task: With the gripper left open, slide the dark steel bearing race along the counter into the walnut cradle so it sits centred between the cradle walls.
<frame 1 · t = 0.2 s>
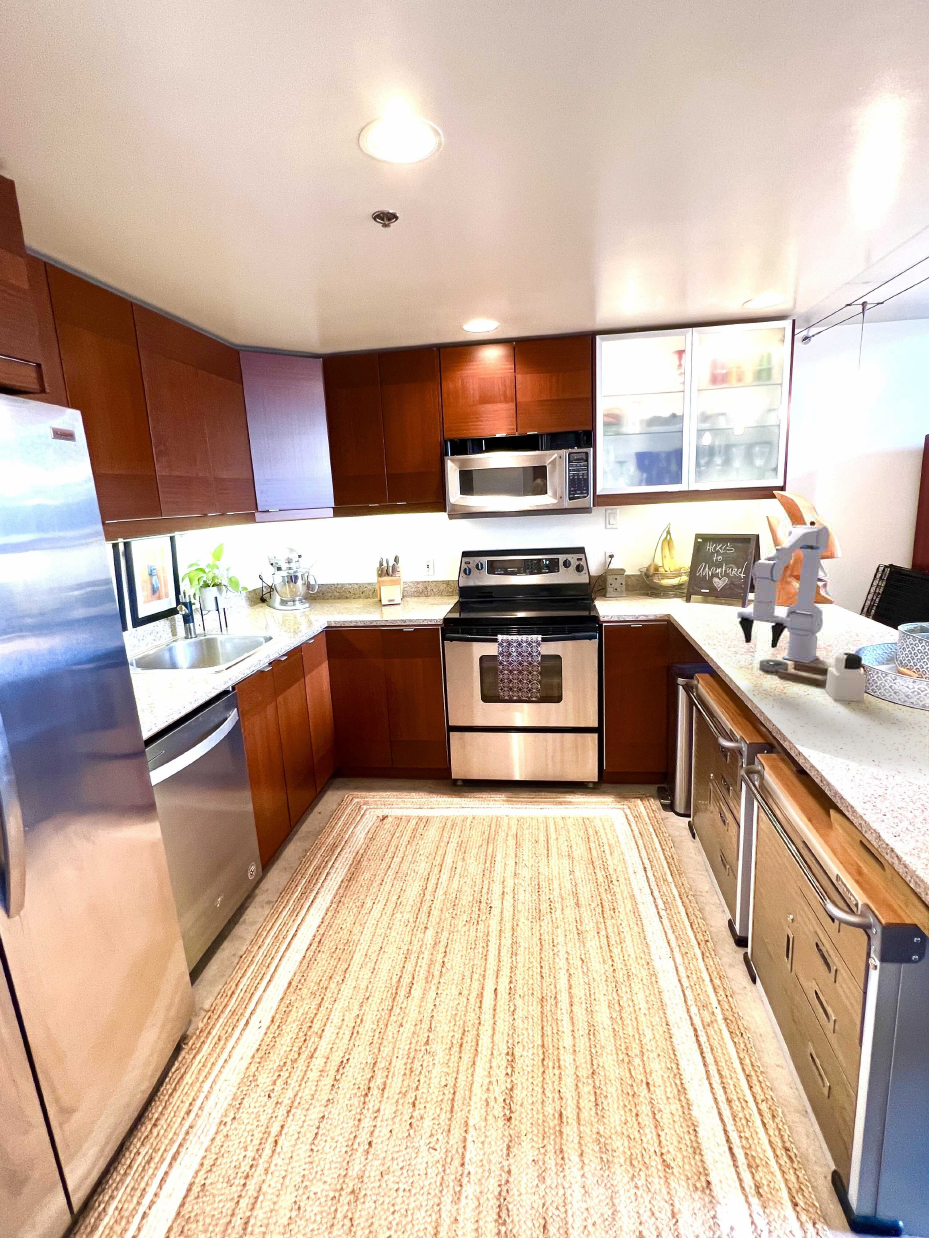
hand: (760, 644, 175), 10 cm above the countertop, tool pointing down, fingers open, 7 cm apart
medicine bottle: (843, 697, 159), on the countertop
bearing race: (773, 670, 182), on the countertop
cradle: (807, 676, 175), on the countertop
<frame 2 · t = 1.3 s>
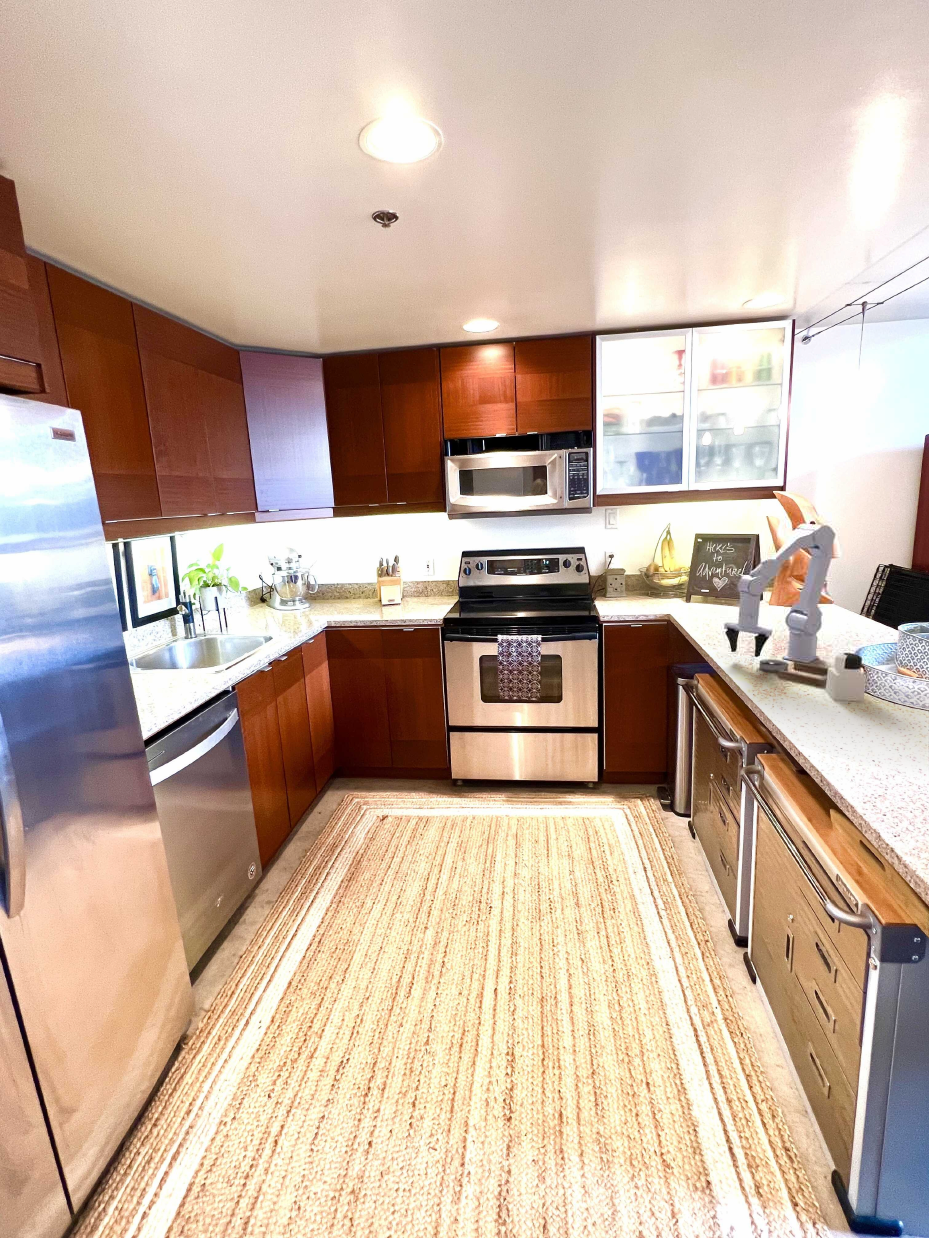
hand: (745, 653, 188), 3 cm above the countertop, tool pointing down, fingers open, 7 cm apart
nothing on the countertop moved.
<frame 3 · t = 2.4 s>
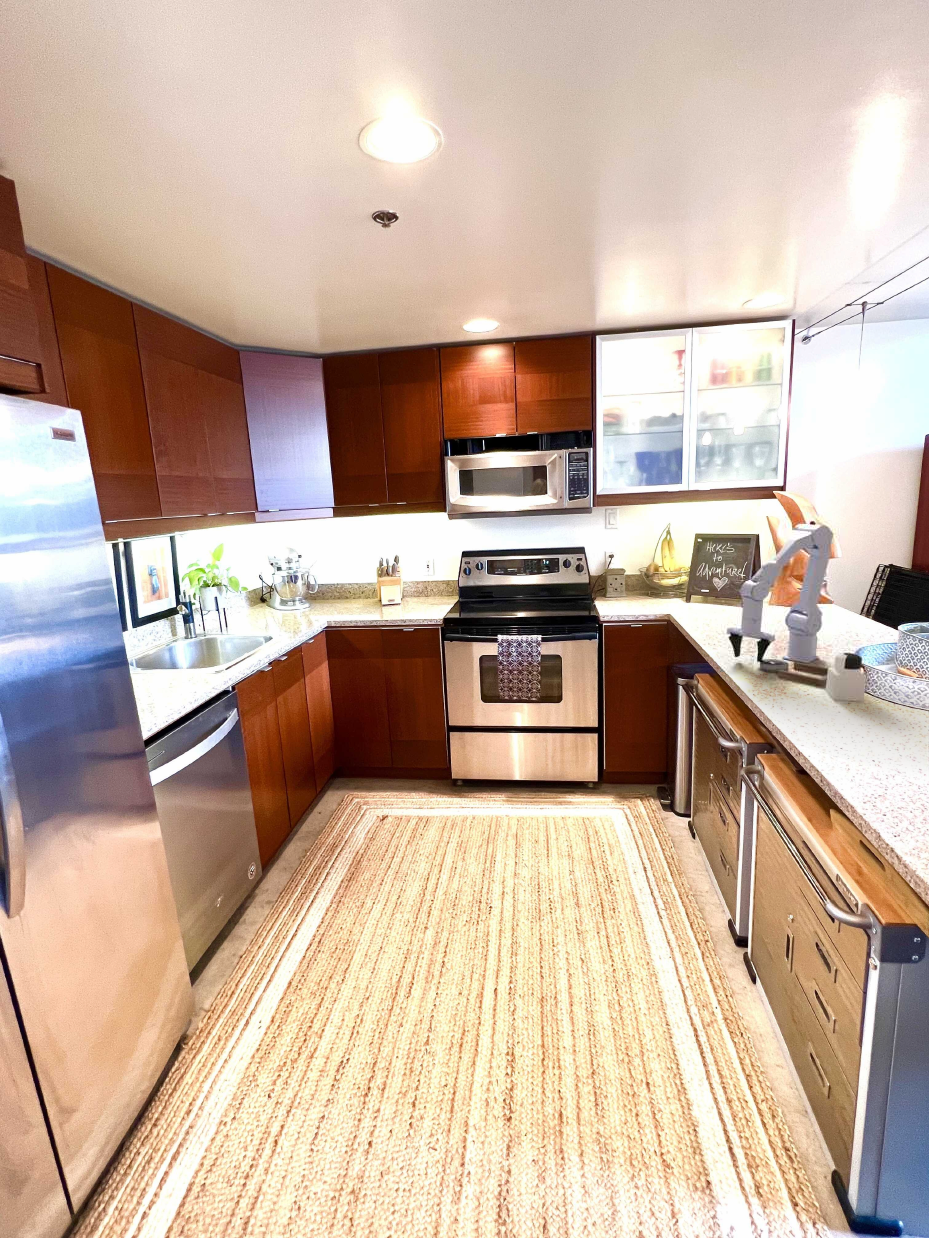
hand: (748, 658, 188), 2 cm above the countertop, tool pointing down, fingers open, 7 cm apart
bearing race: (773, 670, 182), on the countertop, touching gripper
everything else where it was.
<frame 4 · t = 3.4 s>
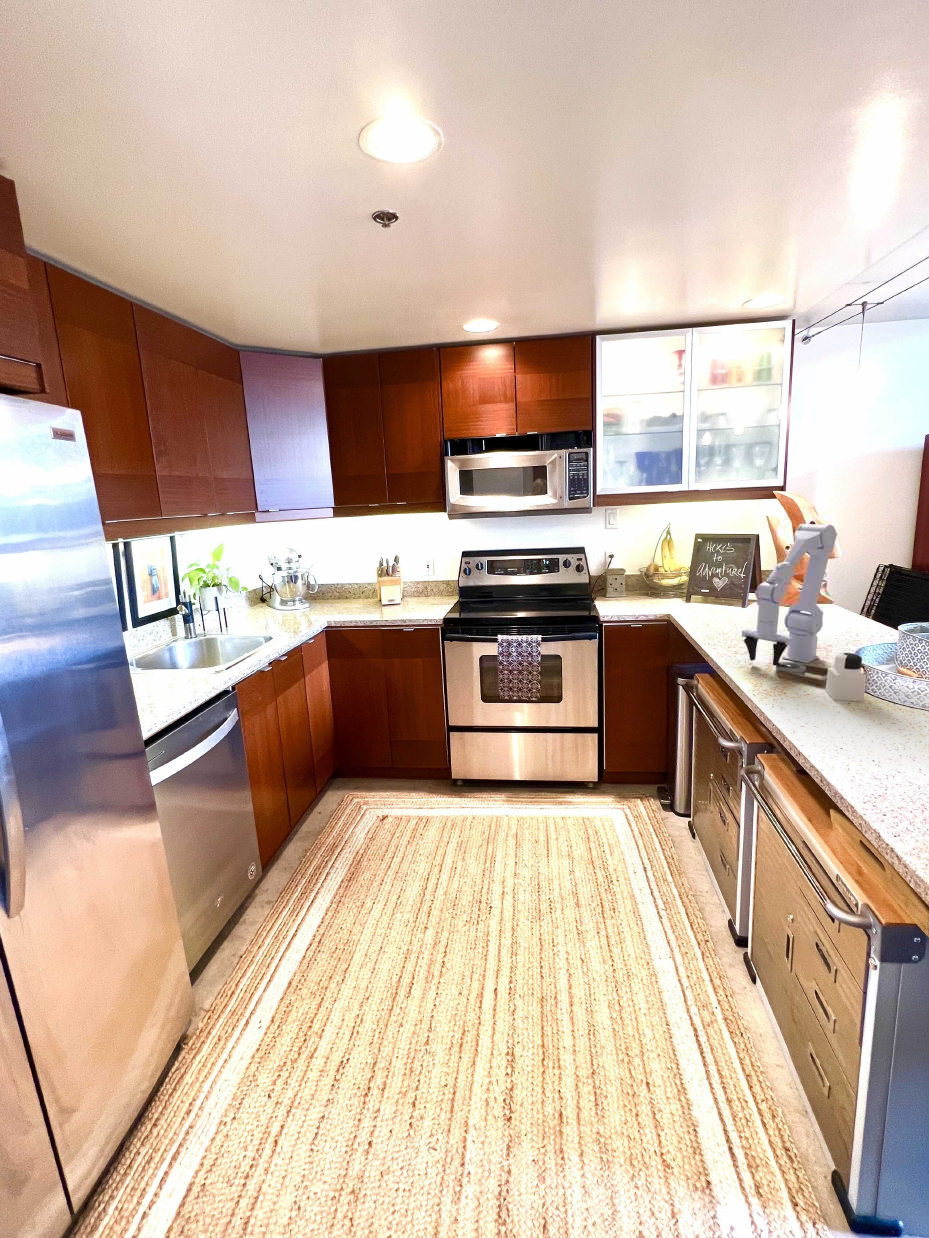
hand: (763, 662, 184), 2 cm above the countertop, tool pointing down, fingers open, 7 cm apart
bearing race: (790, 673, 178), on the countertop, touching gripper
everything else where it was.
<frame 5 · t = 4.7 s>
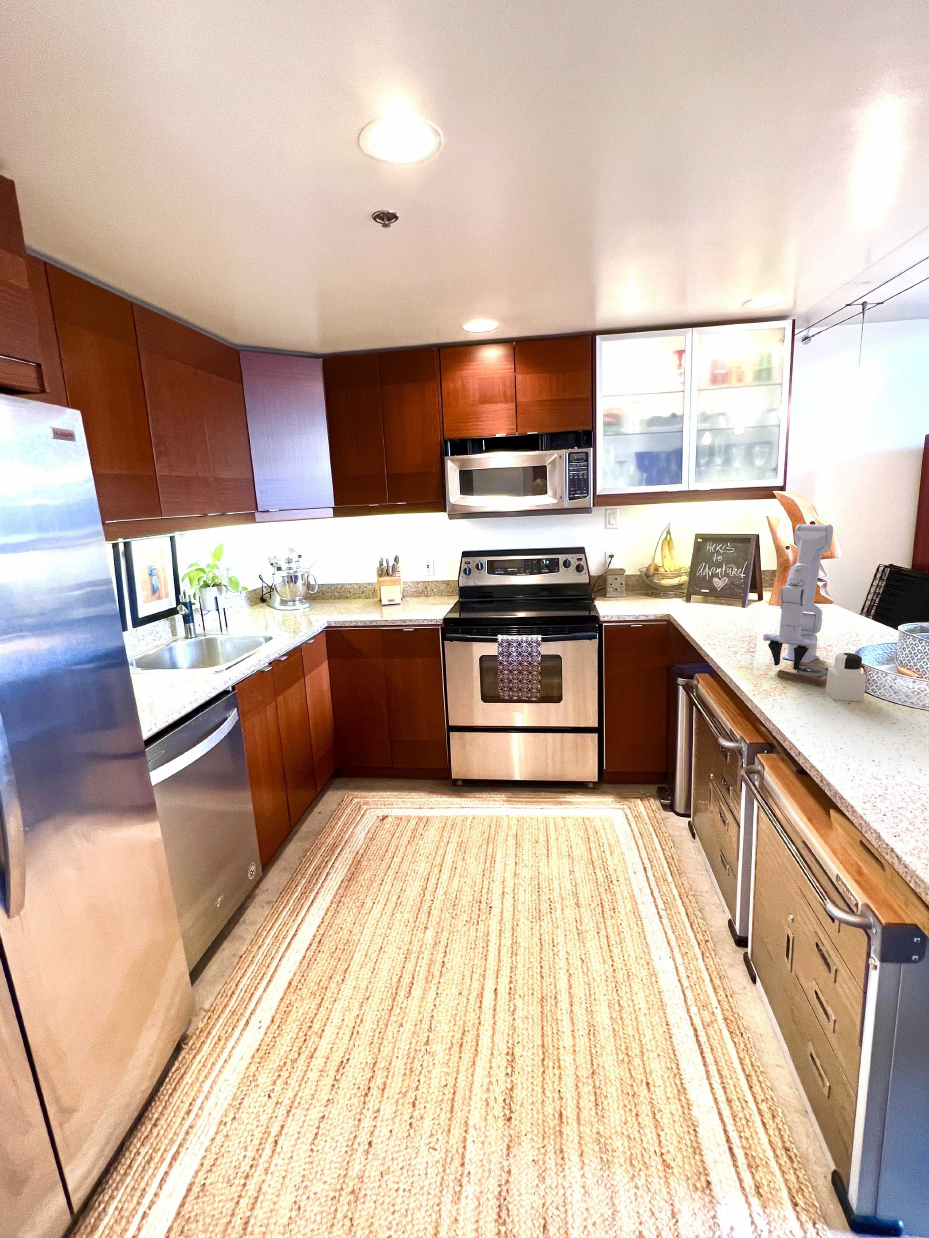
hand: (786, 666, 179), 2 cm above the countertop, tool pointing down, fingers open, 5 cm apart
bearing race: (811, 677, 174), on the countertop, touching cradle, gripper
everything else where it was.
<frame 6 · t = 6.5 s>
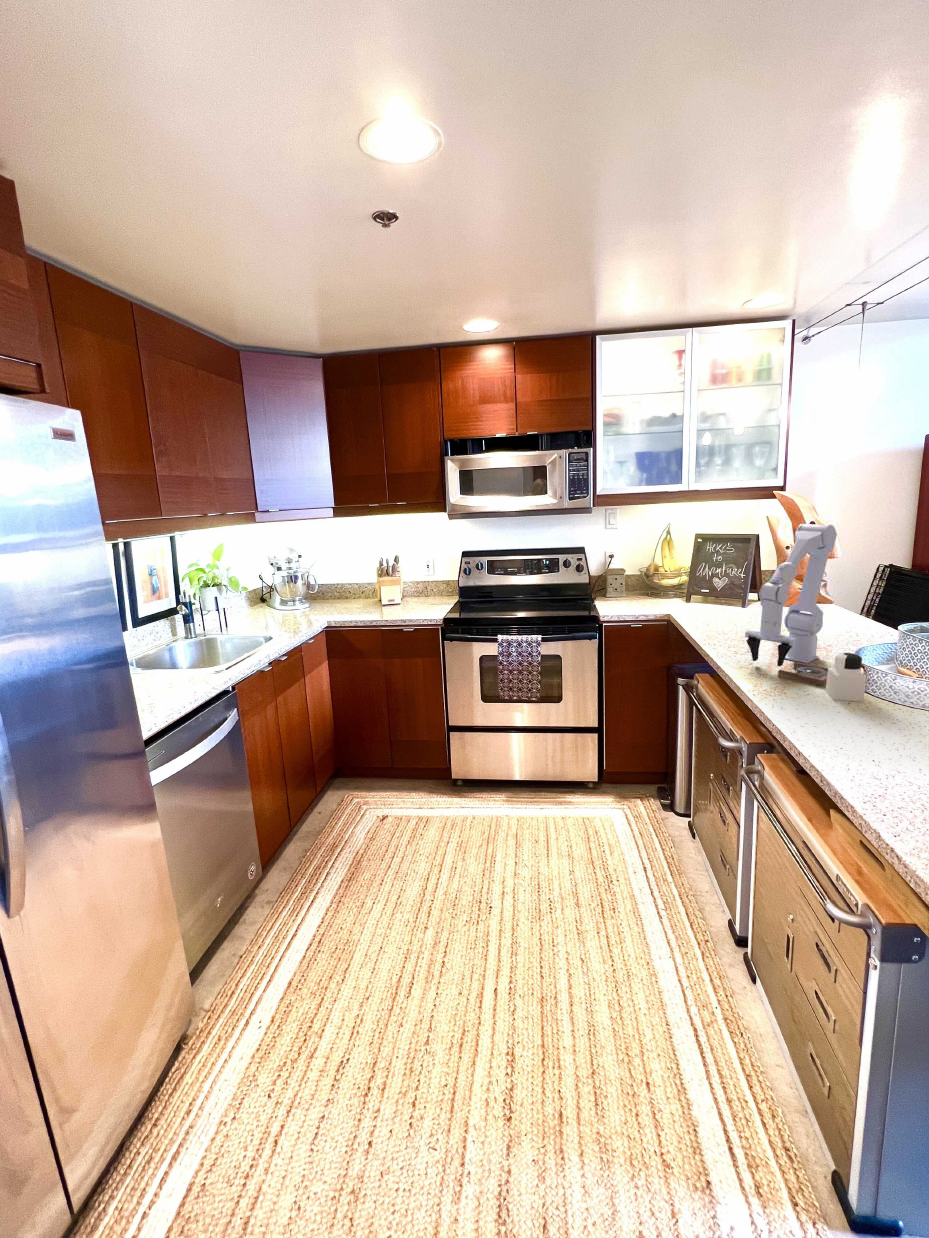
hand: (767, 662, 183), 2 cm above the countertop, tool pointing down, fingers open, 7 cm apart
bearing race: (811, 678, 174), on the countertop
everything else where it was.
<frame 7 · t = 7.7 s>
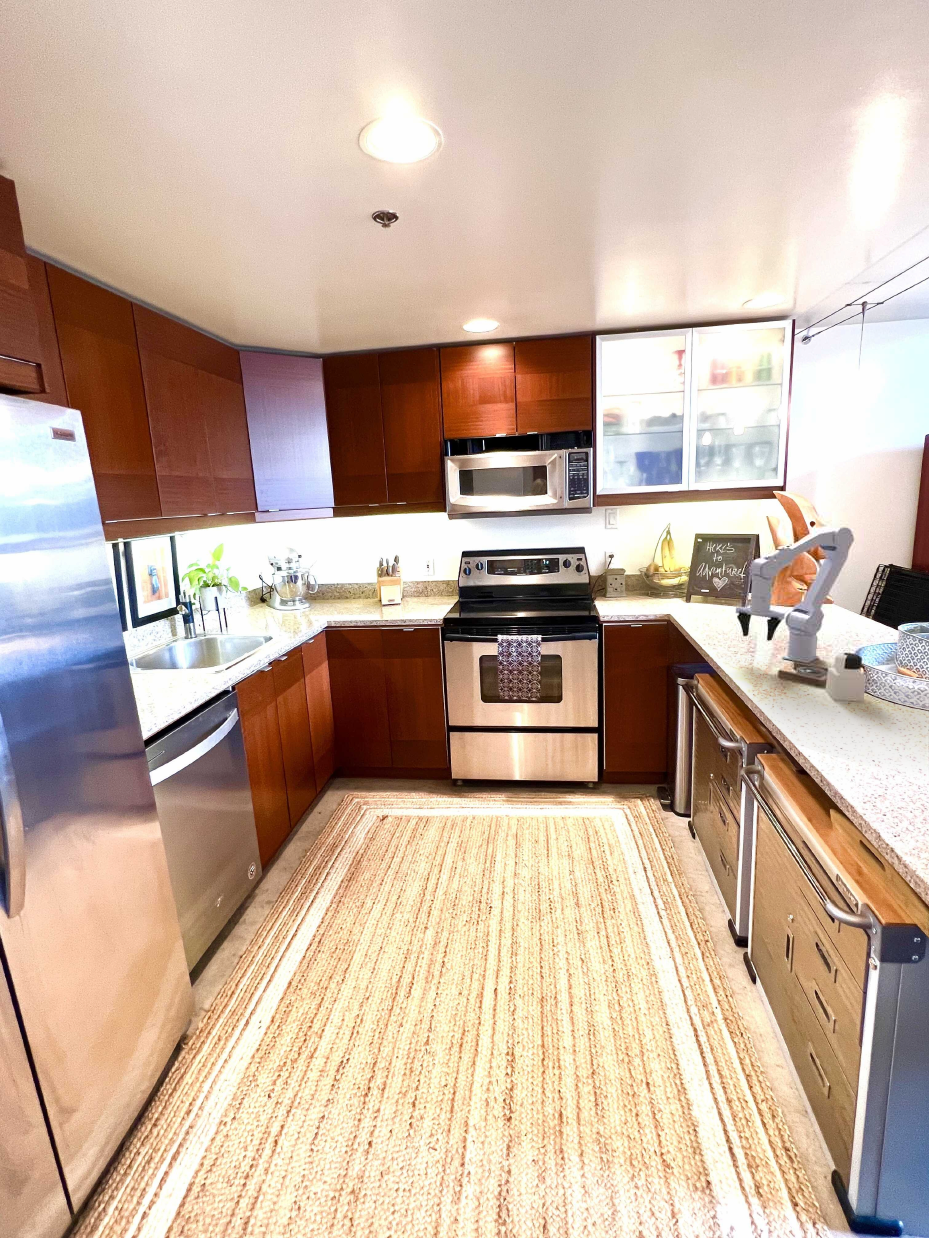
hand: (757, 637, 187), 8 cm above the countertop, tool pointing down, fingers open, 7 cm apart
nothing on the countertop moved.
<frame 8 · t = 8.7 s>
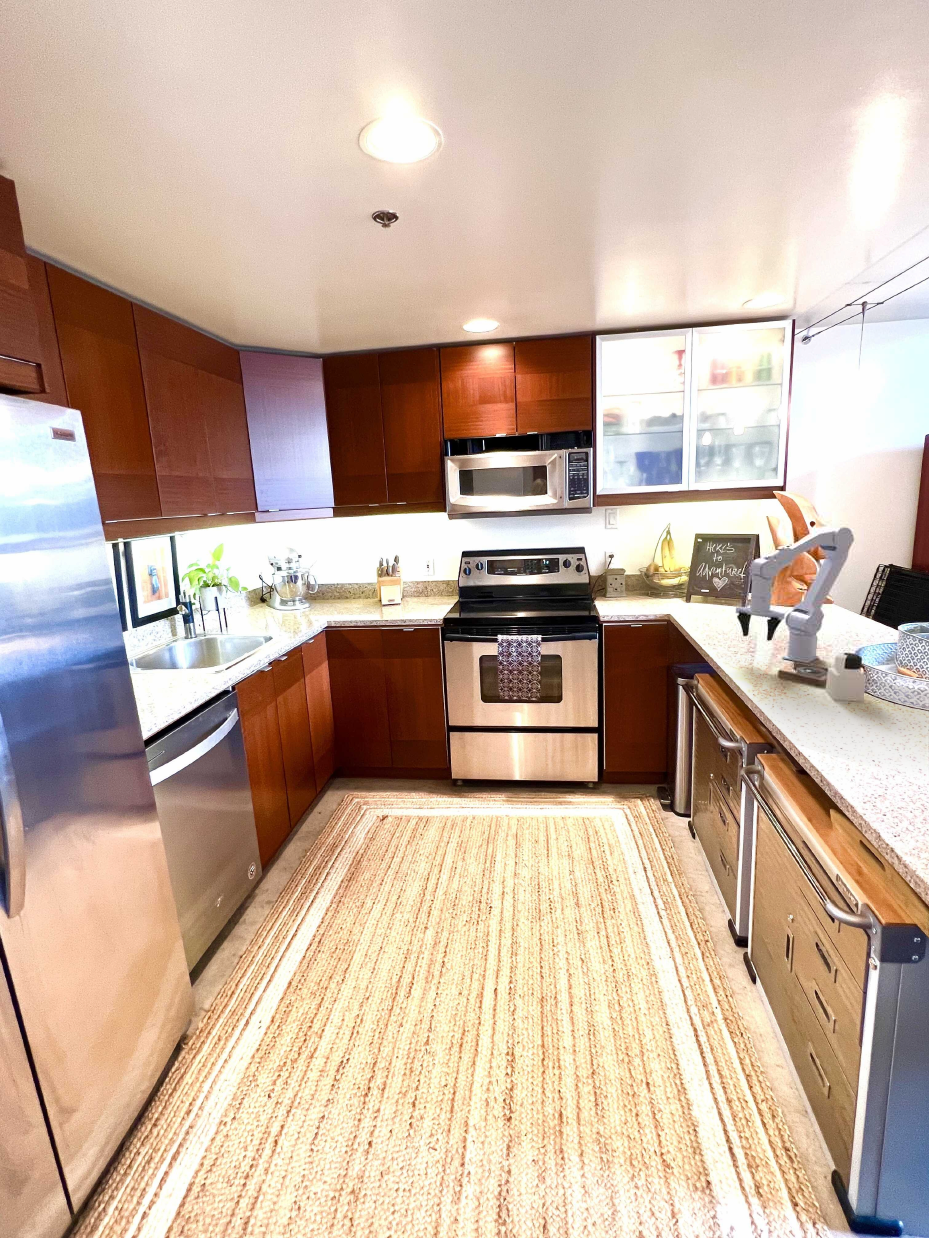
hand: (757, 637, 187), 8 cm above the countertop, tool pointing down, fingers open, 7 cm apart
nothing on the countertop moved.
at the end: bearing race 2.3 cm from the target spot on the cradle, point 0.0 cm above the cradle's base; bearing race tilted 0°; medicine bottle moved 0.2 cm from its start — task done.
